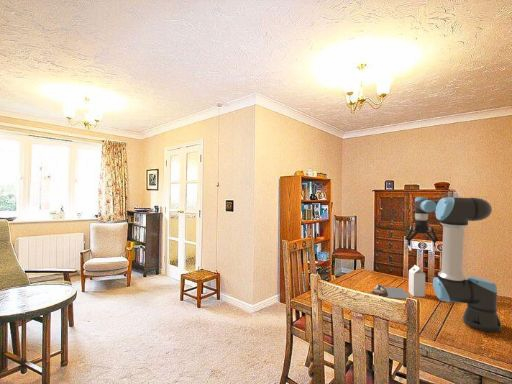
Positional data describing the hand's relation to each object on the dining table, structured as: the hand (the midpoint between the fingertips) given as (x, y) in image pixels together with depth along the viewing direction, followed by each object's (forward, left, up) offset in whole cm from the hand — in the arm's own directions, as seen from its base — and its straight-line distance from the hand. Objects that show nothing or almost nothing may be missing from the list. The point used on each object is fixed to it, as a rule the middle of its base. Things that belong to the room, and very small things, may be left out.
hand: (421, 251), depth 186 cm
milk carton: (-8, +5, -28) cm, 29 cm away
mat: (-8, +19, -27) cm, 34 cm away
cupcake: (-26, +32, -28) cm, 50 cm away
